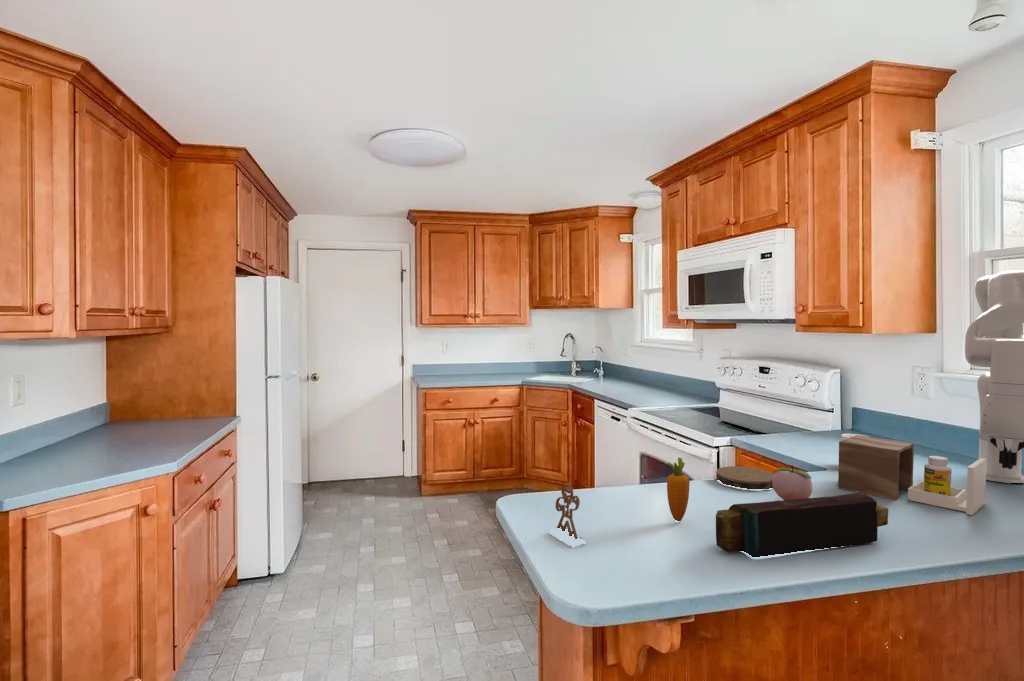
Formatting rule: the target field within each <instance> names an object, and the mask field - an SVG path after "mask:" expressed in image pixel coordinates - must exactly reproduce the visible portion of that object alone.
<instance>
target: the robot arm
mask: <svg viewBox="0 0 1024 681" xmlns="http://www.w3.org/2000/svg"><path fill="white" fill-rule="evenodd" d="M974 293H975V298H976V302H977V304H978V307H979V308H980V310H981V312H982V314H980V315H979V316H977V318H975V319H974V320H973V321H972V322H971V323H970V324H969V326H968V327H967V330H966V332H965V343H964V355H965V359H966V362H967V363H968V364H969V365H971V366H974V367H977V368H978V367H979V368H989V371H988V372H987V371H986V372H984V373H982V374H981V375H980V376H979V377H978V379H977V384H976V385H977V393H978V400H979V437H978V438H979V439H978V440H979V441H978V442H979V444H978V459H980V458H984V459H986V481H990V482H995V481H996V482H997V483H1001V482H1002V484H1011V483H1023V484H1024V475H1023V474H1022V459H1023V456H1022V454H1023V453H1022V452H1023V449H1024V269H1023V270H1019V269H1018V270H1006V271H1001V272H998V273H996V274H992V275H991V274H990V275H985V276H982V277H980V278H978V279H977V280H976V282H975V284H974Z"/></svg>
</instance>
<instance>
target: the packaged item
mask: <svg viewBox="0 0 1024 681" xmlns="http://www.w3.org/2000/svg"><path fill="white" fill-rule="evenodd" d="M877 503H878V502H877V501H876V499H874V498H873V497H872V496H870V495H869V494H865V493H861V492H856V493H847V494H839V495H833V496H821V497H820V496H819V497H809V498H803V499H792V500H783V499H782V500H772V501H761V502H760V501H759V502H746V503H735V504H732V505H731V506H730V507H729V508H727V509H719V510H716V514H715V538H716V539H715V541H716V546H717V547H718V548H720V549H721V550H723V551H724V552H726V553H740V552H739V551H744V552H746V553H748V554H749V555H751V556H752V557H760V556H768V555H775V554H784V553H791V552H797V551H805V550H815V549H824V548H831V547H841V546H847V547H851V546H850V545H854V546H858V544H861V545H866V543H867V544H871V543H876V542H877V541H878V531H879V530H878V528H879V527H882V526H883V527H884V526H888V524H889V508H888V507H886V506H882V505H879V504H877Z"/></svg>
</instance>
